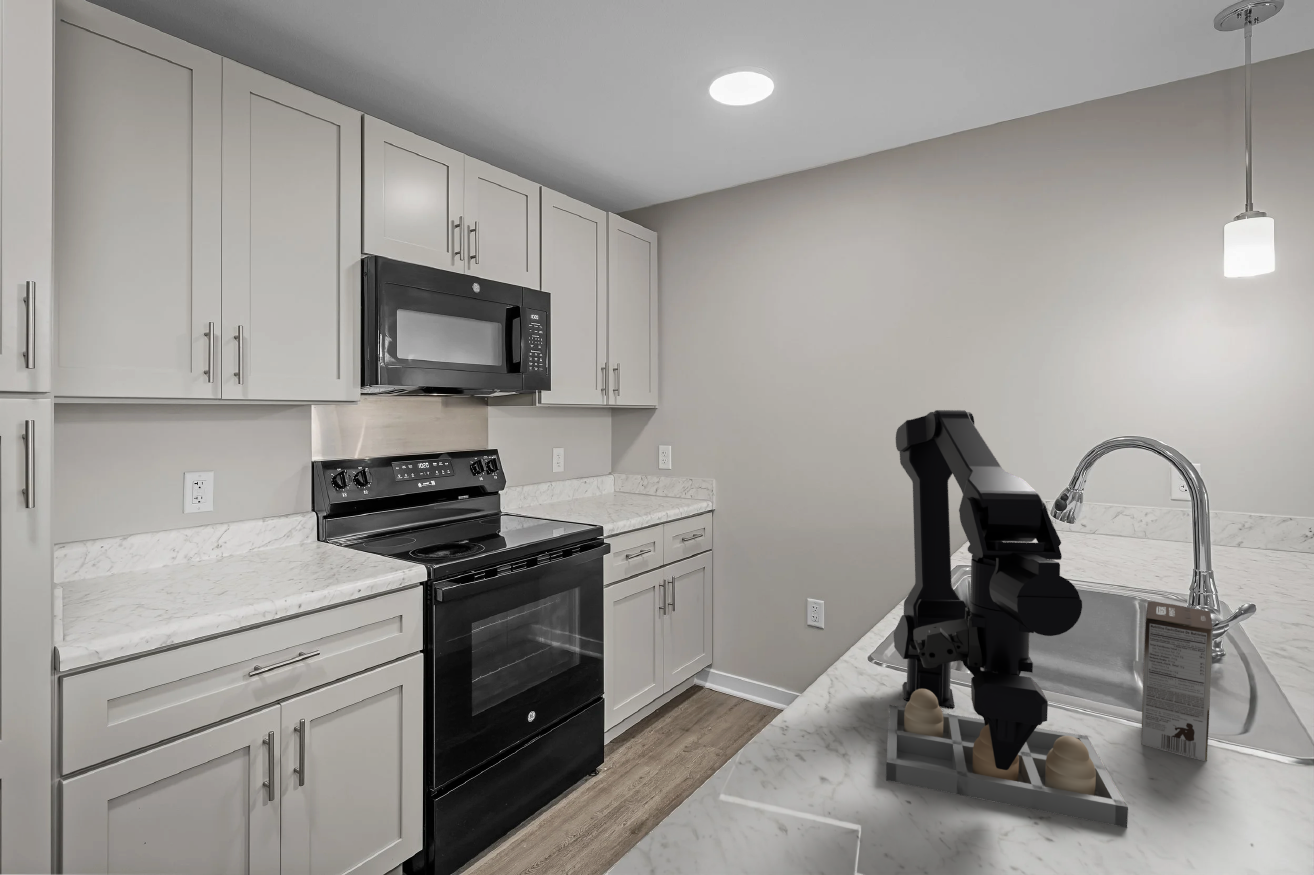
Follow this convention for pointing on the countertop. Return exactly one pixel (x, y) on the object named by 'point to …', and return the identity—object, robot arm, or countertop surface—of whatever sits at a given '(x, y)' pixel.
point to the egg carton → (951, 772)
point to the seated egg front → (1070, 767)
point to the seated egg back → (923, 714)
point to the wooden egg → (990, 759)
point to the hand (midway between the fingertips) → (995, 747)
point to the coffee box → (1177, 679)
